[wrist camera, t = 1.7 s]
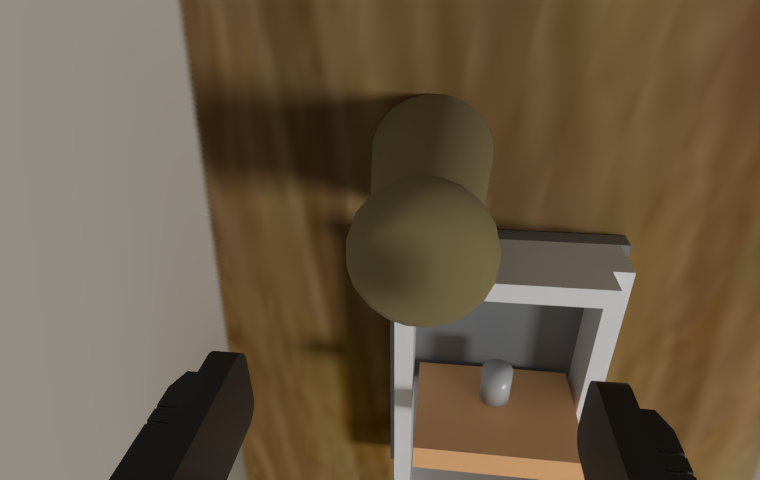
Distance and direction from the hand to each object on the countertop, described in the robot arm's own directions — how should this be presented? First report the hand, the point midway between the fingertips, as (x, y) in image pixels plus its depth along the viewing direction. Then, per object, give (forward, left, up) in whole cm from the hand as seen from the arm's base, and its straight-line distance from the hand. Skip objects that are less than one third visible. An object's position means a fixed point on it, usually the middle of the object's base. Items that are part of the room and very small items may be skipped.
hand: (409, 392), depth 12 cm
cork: (0, 0, -16) cm, 16 cm away
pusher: (+12, +4, -14) cm, 19 cm away
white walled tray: (+13, +4, -15) cm, 20 cm away
